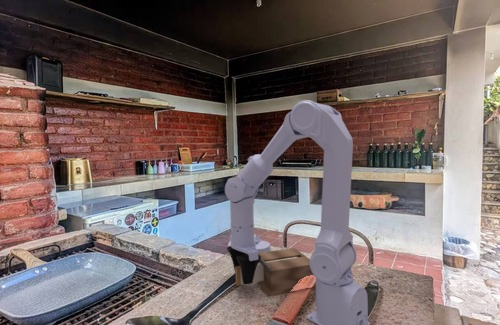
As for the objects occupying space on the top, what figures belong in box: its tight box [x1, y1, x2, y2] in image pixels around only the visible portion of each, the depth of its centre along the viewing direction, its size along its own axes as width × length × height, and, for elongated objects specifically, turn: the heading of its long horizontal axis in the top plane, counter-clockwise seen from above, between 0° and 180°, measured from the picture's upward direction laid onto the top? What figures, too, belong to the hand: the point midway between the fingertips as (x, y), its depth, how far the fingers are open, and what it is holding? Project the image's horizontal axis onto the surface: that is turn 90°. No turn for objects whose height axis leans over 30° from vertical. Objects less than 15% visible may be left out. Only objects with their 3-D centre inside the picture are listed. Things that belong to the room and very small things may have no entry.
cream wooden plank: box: [234, 257, 297, 286], centre depth 73 cm, size 17×1×4 cm, turn 108°
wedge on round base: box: [227, 233, 271, 253], centre depth 95 cm, size 9×7×13 cm
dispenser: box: [256, 247, 316, 298], centre depth 74 cm, size 13×12×7 cm
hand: (243, 278), depth 71 cm, fingers open, 5 cm apart
